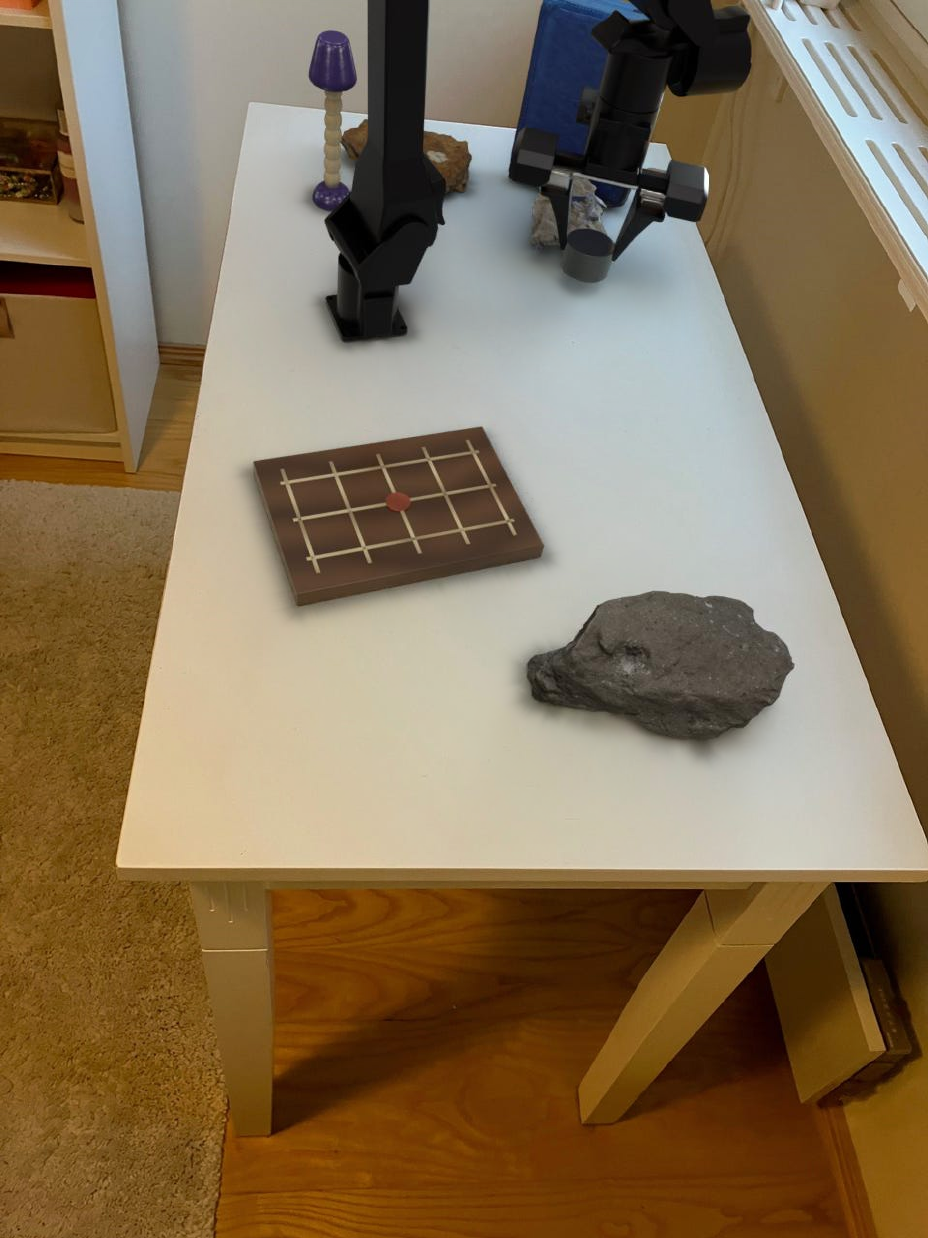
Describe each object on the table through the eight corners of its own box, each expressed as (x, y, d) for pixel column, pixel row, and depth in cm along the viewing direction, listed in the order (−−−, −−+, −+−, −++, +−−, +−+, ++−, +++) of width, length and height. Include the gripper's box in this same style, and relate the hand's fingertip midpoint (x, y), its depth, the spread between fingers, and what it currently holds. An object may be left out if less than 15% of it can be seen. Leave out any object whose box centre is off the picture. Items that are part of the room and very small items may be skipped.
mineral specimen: (528, 192, 110) (536, 156, 106) (599, 204, 111) (609, 169, 107) (530, 265, 101) (538, 229, 98) (607, 278, 102) (618, 242, 99)
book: (629, 195, 113) (688, 8, 97) (623, 218, 109) (683, 28, 94) (511, 161, 113) (552, -31, 97) (502, 182, 110) (542, -13, 94)
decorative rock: (328, 188, 106) (462, 215, 107) (330, 152, 102) (468, 182, 103) (345, 131, 112) (471, 158, 113) (347, 96, 109) (477, 125, 110)
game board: (253, 473, 78) (252, 459, 77) (479, 438, 85) (482, 424, 83) (297, 606, 71) (297, 593, 70) (541, 557, 77) (545, 544, 76)
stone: (548, 752, 64) (568, 610, 61) (516, 698, 72) (532, 570, 69) (796, 751, 68) (827, 618, 64) (739, 700, 76) (764, 579, 73)
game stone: (553, 255, 99) (559, 228, 97) (597, 252, 101) (604, 226, 98) (570, 284, 97) (577, 258, 94) (615, 281, 98) (623, 255, 96)
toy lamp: (349, 216, 102) (356, 50, 89) (305, 210, 102) (305, 42, 89) (353, 192, 105) (361, 28, 92) (311, 186, 105) (312, 20, 91)
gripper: (731, 81, 91) (679, 231, 103) (538, 37, 91) (509, 193, 103) (731, 136, 84) (675, 290, 96) (523, 89, 84) (494, 250, 96)
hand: (587, 253), depth 98 cm, fingers closed on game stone, 5 cm apart
